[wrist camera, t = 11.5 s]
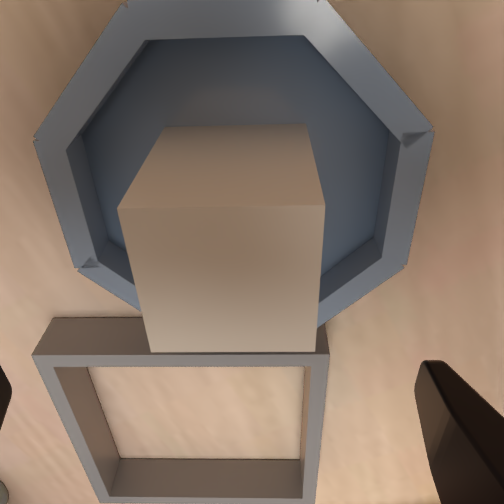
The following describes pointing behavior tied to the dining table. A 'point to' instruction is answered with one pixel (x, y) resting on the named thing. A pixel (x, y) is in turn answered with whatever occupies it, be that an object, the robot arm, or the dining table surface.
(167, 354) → the open square frame
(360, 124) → the ceramic bowl
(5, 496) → the embossed ceramic cup
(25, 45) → the dining table surface
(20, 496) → the dining table surface
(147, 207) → the stone block
